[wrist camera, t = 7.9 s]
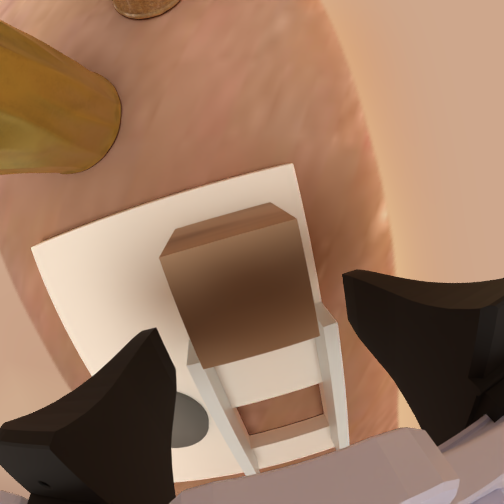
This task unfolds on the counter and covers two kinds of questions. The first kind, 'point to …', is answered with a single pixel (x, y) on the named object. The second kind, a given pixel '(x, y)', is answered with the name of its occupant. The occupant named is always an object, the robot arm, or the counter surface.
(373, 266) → the counter surface
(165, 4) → the sprinkles bottle
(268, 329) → the walnut block
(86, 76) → the vase
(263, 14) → the counter surface
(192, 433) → the coaster
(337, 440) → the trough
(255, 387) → the board
